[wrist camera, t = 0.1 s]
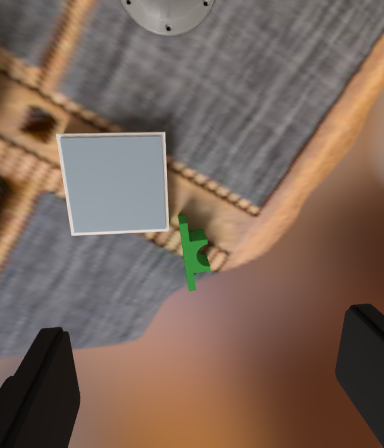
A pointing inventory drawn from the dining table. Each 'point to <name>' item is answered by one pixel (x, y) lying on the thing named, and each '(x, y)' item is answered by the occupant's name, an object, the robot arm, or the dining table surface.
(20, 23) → the dining table surface
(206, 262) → the pipe clamp
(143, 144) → the stand
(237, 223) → the dining table surface
